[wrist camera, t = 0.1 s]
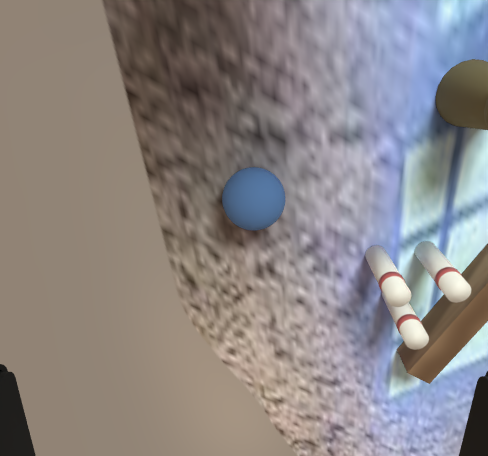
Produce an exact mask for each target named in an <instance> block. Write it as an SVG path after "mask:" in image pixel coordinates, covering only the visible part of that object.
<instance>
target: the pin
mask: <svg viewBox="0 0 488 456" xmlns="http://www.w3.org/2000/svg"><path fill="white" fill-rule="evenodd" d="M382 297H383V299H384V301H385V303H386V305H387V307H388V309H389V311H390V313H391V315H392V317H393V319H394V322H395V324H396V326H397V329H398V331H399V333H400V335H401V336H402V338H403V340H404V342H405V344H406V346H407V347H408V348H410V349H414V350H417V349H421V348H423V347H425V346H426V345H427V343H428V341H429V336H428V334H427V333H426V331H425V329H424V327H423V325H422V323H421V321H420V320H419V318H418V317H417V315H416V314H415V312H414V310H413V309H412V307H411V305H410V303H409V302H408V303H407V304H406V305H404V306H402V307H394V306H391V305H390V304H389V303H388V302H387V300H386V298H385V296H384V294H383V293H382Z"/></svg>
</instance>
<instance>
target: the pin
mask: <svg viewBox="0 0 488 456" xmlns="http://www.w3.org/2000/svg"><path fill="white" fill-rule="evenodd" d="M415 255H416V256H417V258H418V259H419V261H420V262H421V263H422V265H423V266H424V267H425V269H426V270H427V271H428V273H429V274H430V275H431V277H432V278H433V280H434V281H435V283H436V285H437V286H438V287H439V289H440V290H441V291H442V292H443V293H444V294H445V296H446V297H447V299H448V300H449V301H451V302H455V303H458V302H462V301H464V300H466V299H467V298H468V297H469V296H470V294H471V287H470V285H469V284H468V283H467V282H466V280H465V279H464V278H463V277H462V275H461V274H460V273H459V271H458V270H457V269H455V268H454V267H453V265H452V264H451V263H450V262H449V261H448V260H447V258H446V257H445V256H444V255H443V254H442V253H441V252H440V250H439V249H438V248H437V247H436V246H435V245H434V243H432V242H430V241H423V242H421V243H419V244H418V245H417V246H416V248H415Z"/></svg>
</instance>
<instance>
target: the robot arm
mask: <svg viewBox="0 0 488 456" xmlns="http://www.w3.org/2000/svg"><path fill="white" fill-rule="evenodd" d="M0 456H35V452H34V448H33V444H32V440H31V437H30V433H29V429H28V425H27V421H26V417H25V413H24V409H23V405H22V402H21V398H20V394H19V390H18V386H17V382H16V378H15V376H14V374H13V373H12V372H8V371H7V368H6V367H5V366H4V365H2V364H0ZM459 456H488V371H487V373H486V375H485V376H482V377H480V378H479V379H478V381H477V385H476V389H475V393H474V397H473V401H472V405H471V409H470V413H469V417H468V421H467V425H466V429H465V433H464V437H463V441H462V445H461V449H460V453H459Z"/></svg>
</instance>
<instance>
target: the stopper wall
mask: <svg viewBox="0 0 488 456" xmlns="http://www.w3.org/2000/svg"><path fill="white" fill-rule="evenodd" d="M461 275H462V277H463V278H464V279H465V280H466V282H467V283H468V284H469V285H470V287H471V294H470V296H469V297H468V298H467V299H466V300H464V301H462V302H458V303H455V302H451V301H449V300H448V299H447V297H446V296H445V294H444V295H443V296H442V298H441V299H440V300H439V301H438V302H437V303H436V305H435V306H434V307H433V308H432V309H431V310H430V312H429V313H428V314H427V315H426V316H425V317H424V319H423V320H422V321H421V323H422V325H423V327H424V329H425V331H426V333H427V334H428V336H429V341H428V343H427V345H426V346H425V347H423V348H421V349H417V350H414V349H410V348H408V347H407V346H406V344H405V342H403V343H402V344H401V345H400V347H399V348H398V349H397V351H398V353H399V355H400V357H401V360H402V362H403V364H404V366H405V368H406V371H407V373H409V374H411V375H413V376H415V377H417V378H419V379H421V380H423V381H425V382H427V383H429V384H430V383H431V382H432V380H433V379H434V378H435V377H436V376H437V375H438V374H439V373H440V372H441V371H442V370H443V369H444V367H445V366H446V365H447V364H448V363H449V362H450V361H451V360H452V359H453V358H454V357H455V356H456V355H457V353H458V352H459V351H460V350H461V349H462V348H463V347H464V346H465V345H466V344H467V343H468V342H469V341H470V339H471V338H472V337H473V336H474V335H475V334H476V333H477V332H478V331H479V330H480V329H481V328H482V327H483V325H484V324H485V323H486V322H487V321H488V244H487V245H486V246H485V247H484V249H483V250H482V251H481V252H480V253H479V254H478V256H477V257H476V258H475V259H474V260H473V261H472V263H471V264H470V265H469V266H468V267H467V268H466V270H465V271H464V272H463V273H462V274H461Z"/></svg>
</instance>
